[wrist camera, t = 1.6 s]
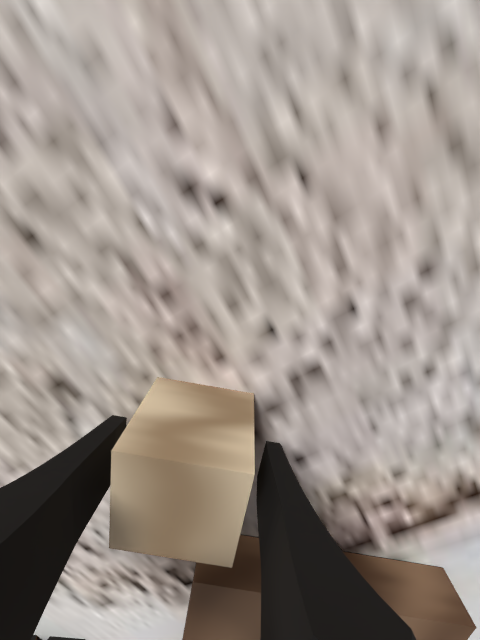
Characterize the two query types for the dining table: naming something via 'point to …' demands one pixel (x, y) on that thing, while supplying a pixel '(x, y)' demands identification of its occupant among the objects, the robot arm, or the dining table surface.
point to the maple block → (184, 473)
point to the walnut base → (382, 574)
